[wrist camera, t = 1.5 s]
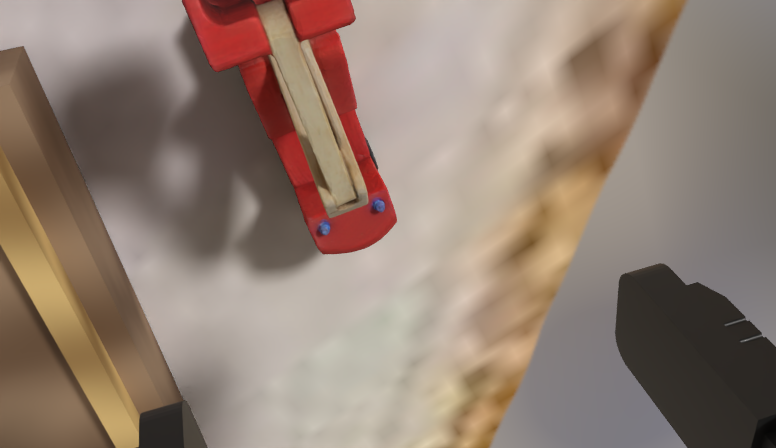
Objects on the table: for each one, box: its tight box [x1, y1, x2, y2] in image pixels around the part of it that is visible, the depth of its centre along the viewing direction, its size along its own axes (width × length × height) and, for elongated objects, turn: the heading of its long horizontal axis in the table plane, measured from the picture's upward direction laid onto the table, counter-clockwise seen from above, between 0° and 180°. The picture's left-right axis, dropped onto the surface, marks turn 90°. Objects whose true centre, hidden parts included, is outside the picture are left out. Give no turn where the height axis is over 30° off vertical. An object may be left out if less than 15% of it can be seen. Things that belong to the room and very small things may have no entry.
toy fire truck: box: [182, 0, 397, 254], centre depth 22 cm, size 3×14×10 cm, turn 16°
